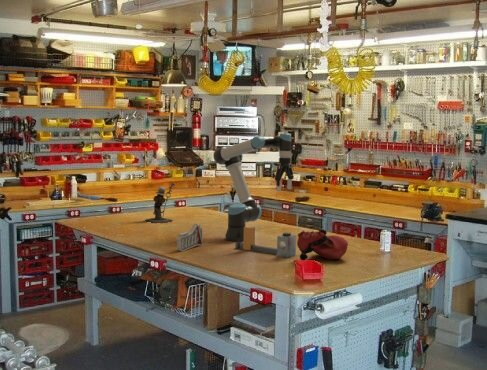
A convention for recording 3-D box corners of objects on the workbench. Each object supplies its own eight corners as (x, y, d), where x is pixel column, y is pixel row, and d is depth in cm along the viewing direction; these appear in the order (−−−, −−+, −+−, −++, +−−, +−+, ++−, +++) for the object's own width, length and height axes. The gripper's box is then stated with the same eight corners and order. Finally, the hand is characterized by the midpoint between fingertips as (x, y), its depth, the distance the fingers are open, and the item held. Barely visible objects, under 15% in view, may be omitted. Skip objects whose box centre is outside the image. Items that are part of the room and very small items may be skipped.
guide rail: (235, 248, 380) (235, 242, 379) (239, 247, 384) (239, 241, 384) (278, 255, 363) (278, 249, 362) (282, 253, 367) (282, 248, 366)
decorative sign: (180, 255, 368) (179, 231, 365) (177, 255, 369) (175, 231, 366) (203, 245, 387) (201, 222, 384) (199, 245, 388) (198, 222, 386)
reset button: (282, 242, 361) (282, 233, 361) (285, 241, 364) (285, 232, 363) (287, 243, 359) (287, 234, 359) (290, 242, 362) (290, 233, 362)
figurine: (138, 222, 469) (138, 183, 465) (151, 217, 491) (151, 180, 487) (165, 224, 462) (166, 184, 459) (177, 219, 484) (178, 182, 481)
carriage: (243, 249, 376) (243, 227, 375) (248, 247, 381) (248, 225, 379) (249, 250, 373) (250, 227, 372) (254, 248, 378) (255, 226, 377)
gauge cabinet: (276, 256, 360) (277, 236, 359) (285, 253, 369) (285, 233, 367) (286, 257, 356) (287, 237, 355) (295, 254, 365) (296, 235, 363)
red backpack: (356, 233, 351) (313, 228, 337) (350, 268, 352) (307, 264, 338) (332, 226, 372) (290, 221, 359) (327, 258, 373) (285, 255, 359)
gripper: (289, 156, 407) (288, 187, 409) (269, 157, 386) (269, 191, 389) (299, 156, 403) (298, 188, 405) (280, 158, 382) (279, 192, 384)
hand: (284, 190), depth 397 cm, fingers open, 13 cm apart
